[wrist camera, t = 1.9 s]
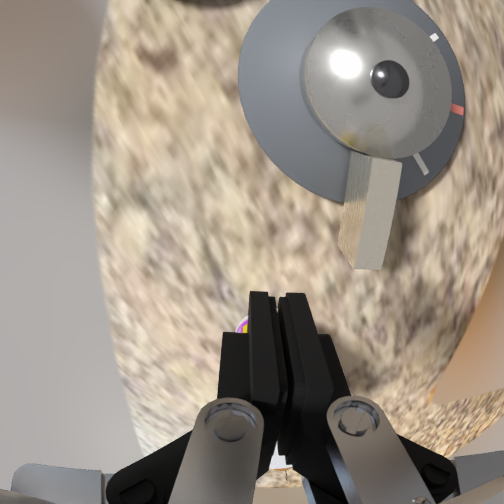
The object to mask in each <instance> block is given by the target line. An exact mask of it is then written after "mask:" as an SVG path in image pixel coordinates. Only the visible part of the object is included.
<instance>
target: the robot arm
mask: <svg viewBox="0 0 504 504" xmlns="http://www.w3.org/2000/svg"><path fill="white" fill-rule="evenodd" d="M276 443H277V447H278V455H279V456H285V461H286V465H292V467H293V470H295V471H296V472H298V473H299V474H301V478H302V484H303V487H304V490H305V493H306V496H307V499H308V502H309V504H504V451H495V452H489V453H482V454H475V455H467V456H458V457H454V458H453V459H452V460H448V459H447V458H445V457H444V456H442V455H440V454H437V453H435V452H433V451H431V450H429V449H427V448H425V447H423V446H420V445H418V444H416V443H414V442H412V441H410V440H408V439H406V438H404V437H402V436H400V435H398V434H396V432H395V431H394V429H393V427H392V425H391V424H390V422H389V420H388V419H387V417H386V415H385V413H384V412H383V410H382V409H381V408H380V407H379V405H377V404H376V403H375V402H373V401H372V400H370V399H367V398H365V397H361V396H351V394H350V391H349V388H348V385H347V382H346V379H345V376H344V373H343V370H342V367H341V364H340V362H339V359H338V356H337V353H336V350H335V347H334V344H333V342H332V339H331V337H330V335H328V334H318V333H317V330H316V327H315V323H314V320H313V317H312V314H311V311H310V308H309V304H308V301H307V298H306V295H305V293H286V296H285V297H280V298H279V303H278V311H277V308H276V302H275V297H269V296H268V292H260V291H250V295H249V310H248V324H247V333H236V332H223V338H222V348H221V360H220V371H219V382H218V394H217V399H216V400H214V401H212V402H209V403H208V404H206V405H205V406H204V407H203V408H202V409H201V411H200V412H199V414H198V416H197V419H196V422H195V425H194V428H193V430H191V431H190V432H188V433H186V434H185V435H183V436H181V437H180V438H178V439H176V440H175V441H173V442H171V443H169V444H168V445H166V446H164V447H162V448H161V449H159V450H157V451H155V452H153V453H152V454H150V455H148V456H146V457H144V458H142V459H141V460H139V461H137V462H135V463H133V464H131V465H129V466H127V467H125V468H123V469H121V470H120V471H118V472H117V473H115V474H104V473H102V471H101V470H86V469H74V468H64V467H55V466H48V465H41V464H26V465H23V466H21V467H20V468H19V469H18V470H17V471H16V472H15V473H14V476H13V479H12V485H11V491H8V490H2V489H0V504H252V502H253V495H254V490H255V484H256V480H257V479H258V478H260V477H261V476H262V475H263V474H264V473H266V472H267V471H268V470H269V466H270V462H271V458H272V456H273V455H274V451H275V447H276Z"/></svg>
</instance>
